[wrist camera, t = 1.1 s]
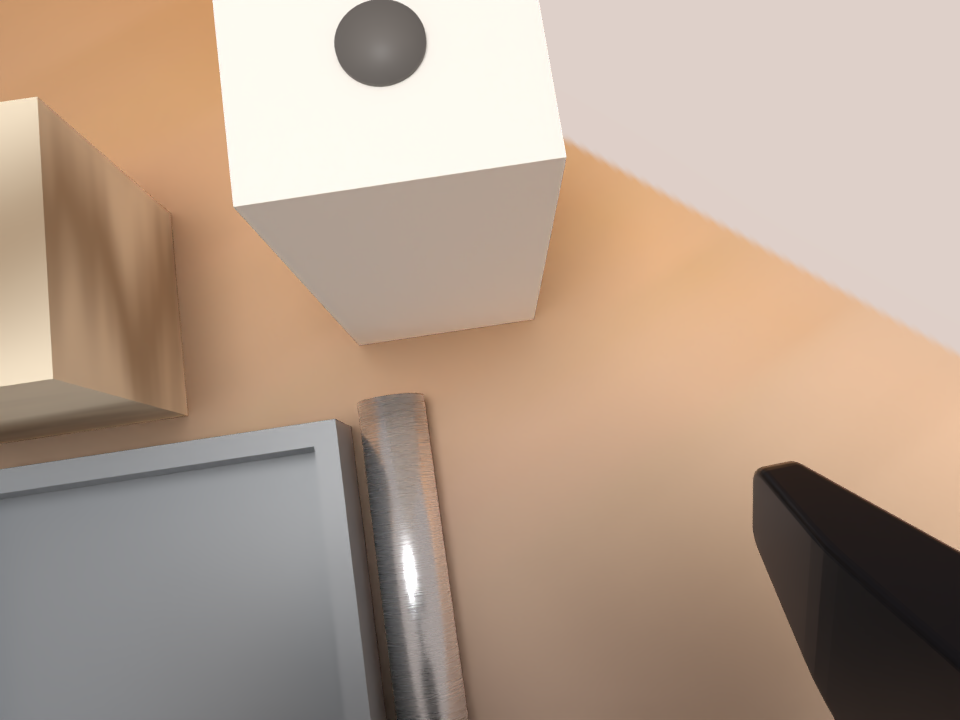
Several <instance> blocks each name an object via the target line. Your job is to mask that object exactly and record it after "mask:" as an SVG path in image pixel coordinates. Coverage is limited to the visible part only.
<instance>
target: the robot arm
mask: <svg viewBox="0 0 960 720" xmlns="http://www.w3.org/2000/svg"><path fill="white" fill-rule="evenodd" d="M753 533H754V538H755V542H756V545H757V548H758V550H759V553H760V555H761V558H762V560H763V562H764V565H765V567H766V569H767V572H768V574H769V577H770V579H771V581H772V584H773V586H774V588H775V591H776V593H777V596H778V598H779V600H780V603H781V605H782V607H783V610H784V612H785V615H786V617H787V619H788V622H789V624H790V626H791V629H792V631H793V634H794V636H795V638H796V641H797V643H798V645H799V648H800V650H801V653H802V655H803V657H804V660H805V662H806V664H807V666H808V669H809V671H810V673H811V675H812V678H813V680H814V682H815V684H816V686H817V688H818V689H819V691H820V693H821V695H822V697H823V699H824V701H825V703H826V705H827V706H828V708H829V710H830V712H831V714H832V715H833V717H834V719H835V720H960V551H958V550H956V549H954V548H952V547H951V546H949V545H947V544H945V543H943V542H942V541H940V540H938V539H936V538H934V537H933V536H931V535H929V534H927V533H925V532H923V531H922V530H920V529H918V528H916V527H914V526H913V525H911V524H909V523H907V522H905V521H904V520H902V519H900V518H898V517H896V516H895V515H893V514H891V513H889V512H887V511H885V510H884V509H882V508H880V507H878V506H876V505H875V504H873V503H871V502H869V501H867V500H866V499H864V498H862V497H860V496H858V495H857V494H855V493H853V492H851V491H849V490H848V489H846V488H844V487H842V486H840V485H838V484H837V483H835V482H833V481H831V480H829V479H828V478H826V477H824V476H822V475H820V474H819V473H817V472H815V471H813V470H811V469H810V468H808V467H806V466H804V465H802V464H800V463H797V462H794V461H788V462H783V463H779V464H774V465H769V466H764V467H761V468H759V469H758V470H757V471H756V472H755V474H754V478H753Z"/></svg>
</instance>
